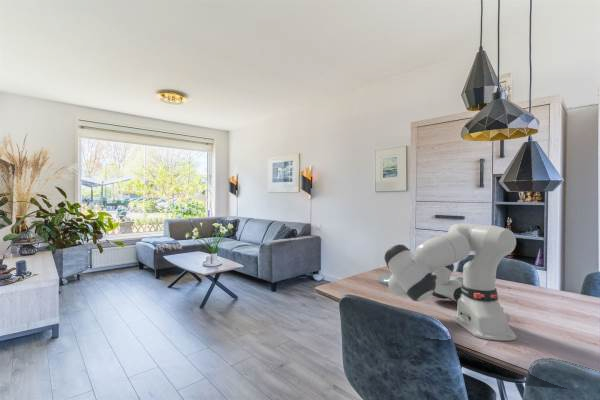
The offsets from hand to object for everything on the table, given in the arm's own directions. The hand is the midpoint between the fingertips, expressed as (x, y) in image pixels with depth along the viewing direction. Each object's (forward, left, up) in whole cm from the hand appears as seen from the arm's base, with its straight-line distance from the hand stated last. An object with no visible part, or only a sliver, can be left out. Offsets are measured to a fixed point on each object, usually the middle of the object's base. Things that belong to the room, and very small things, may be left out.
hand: (439, 276), depth 160 cm
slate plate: (+6, +21, -6) cm, 23 cm away
